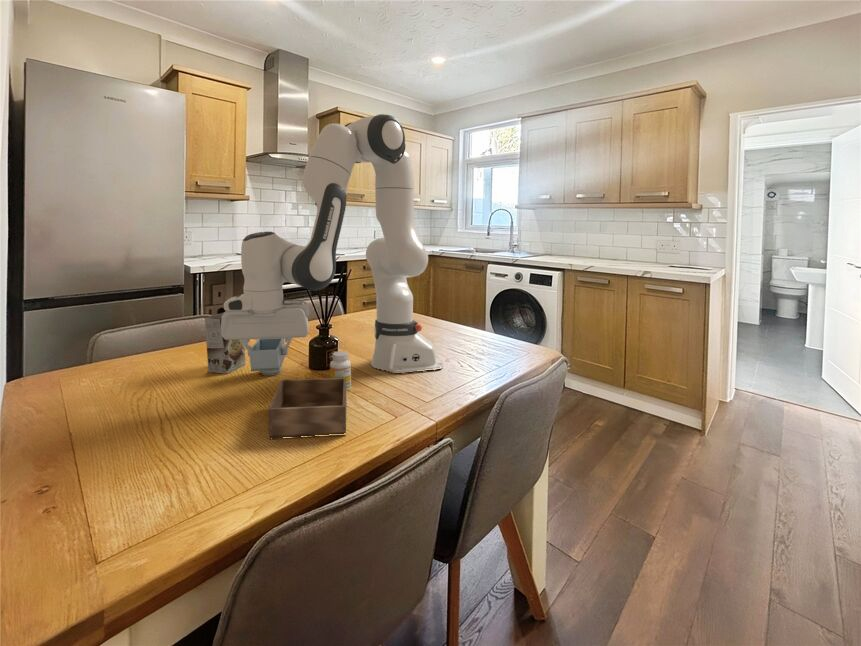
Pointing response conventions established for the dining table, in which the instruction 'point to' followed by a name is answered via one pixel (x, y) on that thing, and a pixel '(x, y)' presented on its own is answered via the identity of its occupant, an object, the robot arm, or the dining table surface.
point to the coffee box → (222, 348)
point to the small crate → (267, 354)
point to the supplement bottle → (341, 367)
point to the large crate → (308, 408)
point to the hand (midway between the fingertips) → (268, 355)
